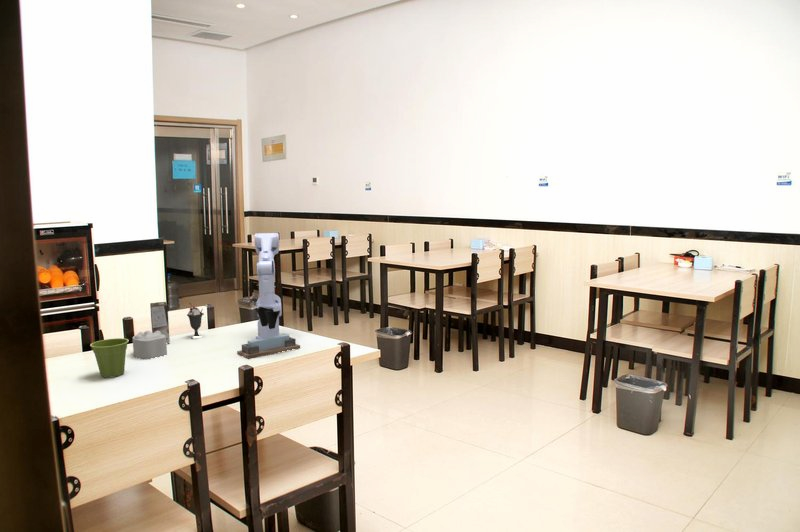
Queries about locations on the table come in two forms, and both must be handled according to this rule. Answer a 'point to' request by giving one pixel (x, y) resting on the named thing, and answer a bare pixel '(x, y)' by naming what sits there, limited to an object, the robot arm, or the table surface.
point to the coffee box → (160, 318)
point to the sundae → (195, 318)
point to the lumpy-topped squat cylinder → (149, 345)
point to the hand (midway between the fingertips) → (268, 327)
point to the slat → (269, 342)
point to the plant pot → (110, 356)
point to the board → (254, 351)
